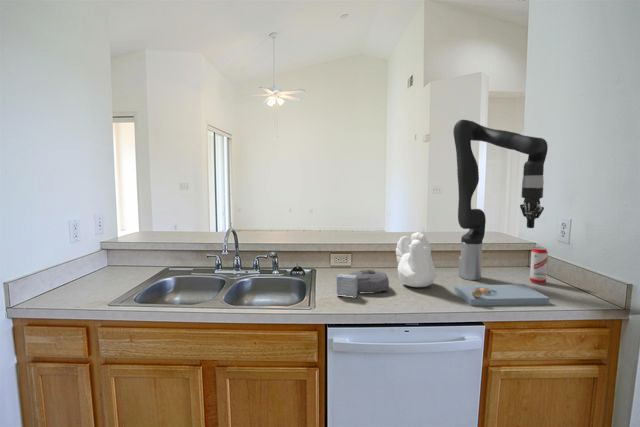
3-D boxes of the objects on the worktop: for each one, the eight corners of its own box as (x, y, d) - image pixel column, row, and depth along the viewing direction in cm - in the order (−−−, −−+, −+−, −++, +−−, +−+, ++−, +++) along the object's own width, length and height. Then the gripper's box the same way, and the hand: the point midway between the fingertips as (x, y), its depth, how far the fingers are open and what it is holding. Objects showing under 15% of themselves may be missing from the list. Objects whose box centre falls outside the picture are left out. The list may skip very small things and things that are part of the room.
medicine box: (357, 295, 144) (357, 275, 143) (355, 298, 139) (355, 278, 138) (339, 293, 146) (339, 273, 145) (336, 296, 142) (336, 276, 141)
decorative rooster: (442, 290, 147) (443, 234, 144) (407, 292, 145) (407, 235, 142) (419, 274, 172) (420, 225, 169) (389, 275, 170) (389, 226, 167)
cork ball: (469, 296, 132) (469, 288, 132) (475, 295, 134) (476, 286, 133) (477, 299, 129) (477, 290, 129) (483, 298, 131) (484, 289, 130)
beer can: (548, 285, 152) (550, 249, 150) (533, 284, 153) (535, 249, 151) (542, 280, 158) (544, 246, 156) (527, 280, 159) (529, 246, 157)
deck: (524, 290, 146) (524, 284, 146) (549, 304, 130) (549, 297, 130) (454, 291, 146) (454, 285, 146) (470, 305, 130) (470, 299, 130)
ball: (477, 299, 139) (473, 289, 139) (484, 296, 140) (481, 287, 141) (484, 299, 135) (480, 289, 136) (492, 296, 136) (488, 286, 137)
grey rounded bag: (383, 283, 159) (341, 284, 158) (383, 265, 158) (341, 267, 157) (391, 294, 144) (344, 295, 143) (391, 275, 143) (344, 276, 142)
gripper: (514, 186, 148) (512, 225, 149) (533, 187, 134) (531, 230, 136) (531, 185, 147) (529, 225, 149) (552, 186, 134) (549, 230, 136)
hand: (530, 227), depth 143 cm, fingers closed
